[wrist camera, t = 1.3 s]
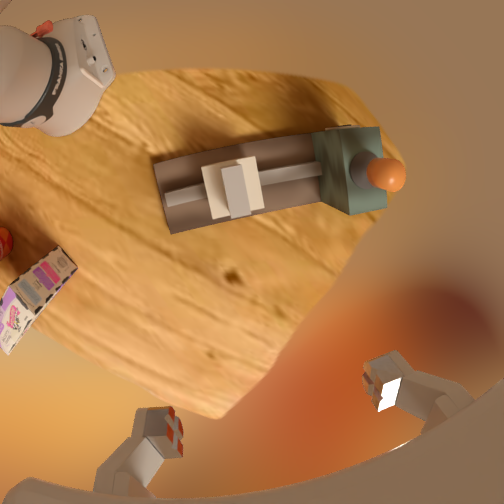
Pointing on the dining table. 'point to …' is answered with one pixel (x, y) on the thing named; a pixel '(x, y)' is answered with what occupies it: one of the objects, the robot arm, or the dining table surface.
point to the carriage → (233, 187)
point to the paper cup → (5, 242)
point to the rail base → (263, 161)
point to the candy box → (32, 295)
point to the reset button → (386, 174)
